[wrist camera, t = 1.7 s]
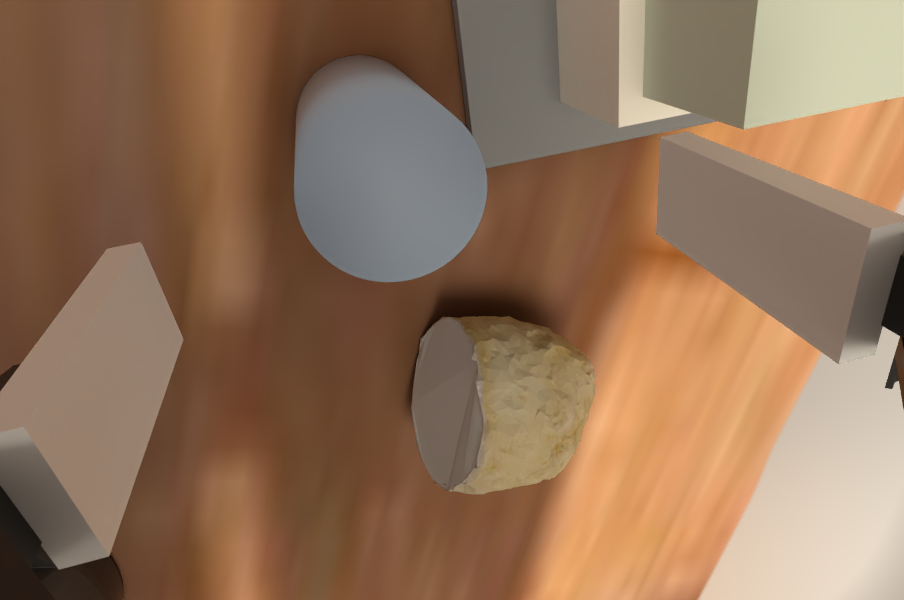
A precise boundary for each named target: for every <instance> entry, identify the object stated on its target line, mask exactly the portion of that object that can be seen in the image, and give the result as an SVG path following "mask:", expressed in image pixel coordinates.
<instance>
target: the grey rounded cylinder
mask: <svg viewBox="0 0 904 600" xmlns="http://www.w3.org/2000/svg"><path fill="white" fill-rule="evenodd" d="M486 197H487V174H486V168H485V163H484V160H483V157H482V154H481V151H480V149H479V147H478V145H477V143H476V141H475V139H474V138H473V136H472V135H471V133H470V132H469V130H468V129H467V128H466V127H465V126H464V125H463V123H462V122H461V121H460V120H459V119H457V118H456V117H455V116H454V115H453V114H452V113H451V112H449V111H448V110H447V109H446V108H445V107H443V106H442V105H441V104H440V103H439V102H437V101H436V100H435V99H434V98H433V97H431V96H430V95H429V94H428V93H427V92H425V91H424V90H423V89H422V88H421V87H419V86H418V85H417V84H416V83H415V82H413V81H412V80H411V79H410V78H409V77H407V76H406V75H405V74H404V73H403V72H401V71H400V70H399V69H398V68H396V67H395V66H393V65H392V64H390V63H388V62H386V61H384V60H382V59H379V58H376V57H371V56H366V55H352V56H346V57H341V58H338V59H336V60H333V61H331V62H329V63H327V64H326V65H324V66H323V67H321V68H320V69H319V70H318V71H316V72H315V73H314V74H313V76H312V77H311V78H310V79H309V80H308V82H307V83H306V85H305V87H304V88H303V90H302V92H301V95H300V98H299V101H298V105H297V111H296V136H295V170H294V198H295V206H296V211H297V215H298V218H299V221H300V224H301V226H302V228H303V230H304V232H305V234H306V236H307V238H308V239H309V241H310V242H311V244H312V245H313V246H314V248H315V249H316V250H317V251H318V252H319V253H320V254H321V255H322V256H323V257H324V258H325V259H326V260H327V261H329V262H330V263H331V264H332V265H334V266H336V267H337V268H339V269H340V270H342V271H344V272H346V273H348V274H350V275H353V276H356V277H359V278H362V279H366V280H371V281H377V282H400V281H406V280H412V279H415V278H418V277H422V276H424V275H427V274H429V273H431V272H433V271H435V270H437V269H439V268H441V267H442V266H444V265H445V264H446V263H448V262H449V261H451V260H452V259H453V258H454V257H455V256H456V255H457V254H458V253H460V252H461V250H462V249H463V248H464V247H465V246H466V245H467V243H468V242H469V241H470V239H471V238H472V236H473V235H474V233H475V231H476V229H477V227H478V225H479V223H480V221H481V218H482V215H483V212H484V208H485V203H486Z"/></svg>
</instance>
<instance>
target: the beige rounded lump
mask: <svg viewBox="0 0 904 600" xmlns="http://www.w3.org/2000/svg"><path fill="white" fill-rule="evenodd" d="M594 379H595V375H594V370H593V365H592V364H591V362H590V359H589V358H588V357H586V356H585V355H584V353H583V352H582V351H580V350H579V349H577V348H576V347H574V346H573V345H572V344H570V343H569V341H568V340H567V339H565V338H564V337H563V336H560V335H557V334H555V333H553V332H552V331H551V330H550V328H547V327H543V326H539V325H535V324H532V323H528V322H521V321H519V320H516V319H514V318H512V317H509V316H505V317H496V316H478V317H475V316H471V317H462V318H454V317H443V316H442V318H441V319H440V320H439V321H437V322H436V323H434V324H433V326H432V327H431V328H430V329H429V330H428V331H427V332H426V334H425V335H424V336H423V337H422V338H421V339H420V346H419V355H418V358H417V363H416V370H415V378H414V385H413V396H412V405H411V409H412V415H413V421H414V427H415V433H416V441H417V447H418V450H419V452H420V455H421V458H422V461H423V463H424V466H425V467H426V469H427V471H428V472H429V474H430V476H431V477H432V479H433V480H434V482H435V484H437V485H439V486H442V487H443V489H444V490H445V491H446V490H448V491H449V492H450V491H458V492H462V493H466V494H485V493H487V492H491V491H498V490H505V489H511V488H513V487H519V486H526V485H530V484H536V483H539V482H540V481H542V480H543V479H547V480H549V479H551V478H553V477H555V476H556V475H557V474H558V473H560V472H561V471H562V469H563V468H564V467H565V466H566V465H567V463H568V462H569V460H570V458H571V457H572V455H573V454H575V451H576V448H577V445H578V444H579V442H580V440H581V436H582V430H583V427H584V425H585V423H586V421H587V419H588V414H589V409H590V408H591V404H592V401H593V398H594V394H595V384H594Z"/></svg>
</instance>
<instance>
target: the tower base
mask: <svg viewBox="0 0 904 600" xmlns="http://www.w3.org/2000/svg"><path fill="white" fill-rule="evenodd" d="M556 6H557V31H558V55H559V80H560V102H562V103H564V104H566V105H569V106H571V107H573V108H575V109H578V110H580V111H582V112H584V113H587V114H589V115H591V116H593V117H596V118H598V119H600V120H602V121H605V122H607V123H609V124H612V125H614V126H616V127H618V128H620V127H624V126H629V125H634V124H639V123H644V122H649V121H654V120H659V119H664V118H669V117H674V116H679V115H684V114H689V113H691V112H688V111H685V110H682V109H679V108H676V107H672V106H669V105H666V104H663V103H660V102H657V101H654V100H651V99H648V98H645V97H643V71H644V34H645V0H556Z"/></svg>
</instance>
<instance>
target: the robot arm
mask: <svg viewBox="0 0 904 600" xmlns="http://www.w3.org/2000/svg"><path fill="white" fill-rule="evenodd" d="M656 234H657V235H659V236H660V237H662V238H663V239H664V240H666V241H667V242H669V243H670V244H671V245H673V246H674V247H676V248H677V249H678V250H680V251H681V252H683V253H684V254H685V255H687V256H688V257H690V258H691V259H692V260H694V261H695V262H697V263H698V264H699V265H701V266H702V267H704V268H705V269H706V270H708V271H709V272H711V273H712V274H713V275H715V276H716V277H718V278H719V279H720V280H722V281H723V282H724V283H726V284H727V285H729V286H730V287H731V288H733V289H734V290H736V291H737V292H738V293H740V294H741V295H743V296H744V297H745V298H747V299H748V300H750V301H751V302H752V303H754V304H755V305H757V306H758V307H759V308H761V309H762V310H764V311H765V312H766V313H768V314H769V315H771V316H772V317H773V318H775V319H776V320H778V321H779V322H780V323H782V324H783V325H785V326H786V327H787V328H789V329H790V330H792V331H793V332H794V333H796V334H797V335H799V336H800V337H801V338H803V339H804V340H806V341H807V342H808V343H810V344H811V345H813V346H814V347H815V348H817V349H818V350H820V351H821V352H822V353H824V354H825V355H827V356H828V357H830V358H831V359H832V360H834V361H835V362H836V363H838V364H841V363H845V362H849V361H852V360H856V359H860V358H864V357H867V356H871V355H875V352H876V348H877V344H878V341H879V337H880V334H881V330H882V327H883V326H884V327H886V328H887V329H889V330H891V331H892V332H894V333H896V334H897V335H899V336H900V339H899V343H898V346H897V349H896V352H895V356H894V359H893V363H892V366H891V369H890V372H889V376H888V379H887V382H886V386H885V388H889V389H892V388H893V385H894V383H895V382H896V381H899V383H900V390H901V396H902V402H903V408H904V216H902V215H900V214H898V213H895V212H892V211H890V210H887V209H885V208H882V207H880V206H877V205H874V204H872V203H869V202H867V201H864V200H862V199H859V198H856V197H854V196H851V195H849V194H846V193H844V192H841V191H838V190H836V189H833V188H831V187H828V186H826V185H823V184H821V183H818V182H815V181H813V180H810V179H808V178H805V177H803V176H800V175H797V174H795V173H792V172H790V171H787V170H785V169H782V168H779V167H777V166H774V165H772V164H769V163H767V162H764V161H761V160H759V159H756V158H754V157H751V156H749V155H746V154H743V153H741V152H738V151H736V150H733V149H731V148H728V147H726V146H723V145H720V144H718V143H715V142H713V141H710V140H708V139H705V138H702V137H700V136H697V135H695V134H692V133H690V132H684V133H679V134H674V135H669V136H664V137H661V139H660V161H659V184H658V206H657V228H656ZM183 340H184V339H183V337H182V334H181V332H180V330H179V327H178V325H177V323H176V321H175V318H174V316H173V314H172V311H171V309H170V307H169V305H168V302H167V300H166V298H165V295H164V293H163V291H162V289H161V286H160V284H159V282H158V279H157V277H156V275H155V273H154V270H153V268H152V266H151V263H150V261H149V259H148V257H147V254H146V252H145V250H144V247H143V245H142V243H141V242H138V243H133V244H128V245H123V246H118V247H113V248H108V249H106V251H105V252H104V253H103V255H102V256H101V257H100V259H99V260H98V262H97V263H96V264H95V266H94V267H93V268H92V270H91V271H90V272H89V274H88V275H87V276H86V278H85V279H84V280H83V282H82V283H81V284H80V286H79V287H78V288H77V290H76V291H75V292H74V294H73V295H72V296H71V298H70V299H69V300H68V302H67V303H66V304H65V306H64V307H63V308H62V310H61V311H60V312H59V314H58V315H57V316H56V318H55V319H54V320H53V322H52V323H51V324H50V326H49V327H48V328H47V330H46V331H45V332H44V334H43V335H42V336H41V338H40V339H39V340H38V342H37V343H36V344H35V346H34V347H33V348H32V350H31V351H30V352H29V354H28V355H27V357H26V358H25V359H24V361H23V362H22V363H21V364H19V365H14V366H13V367H11V368H10V369H9V370H7V371H6V372H5V373H3V374H2V375H1V376H0V600H122V599H123V585H122V580H121V577H120V574H119V572H118V569H117V567H116V566H115V564H114V562H113V561H112V559H111V558H110V557H109V556H110V553H111V550H112V547H113V544H114V541H115V538H116V535H117V532H118V529H119V526H120V523H121V521H122V518H123V515H124V512H125V509H126V506H127V503H128V500H129V497H130V494H131V491H132V488H133V486H134V483H135V480H136V477H137V474H138V471H139V468H140V465H141V462H142V459H143V456H144V453H145V451H146V448H147V445H148V442H149V439H150V436H151V433H152V430H153V427H154V424H155V421H156V418H157V415H158V413H159V410H160V407H161V404H162V401H163V398H164V395H165V392H166V389H167V386H168V383H169V380H170V378H171V375H172V372H173V369H174V366H175V363H176V360H177V357H178V354H179V351H180V348H181V345H182V343H183Z"/></svg>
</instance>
